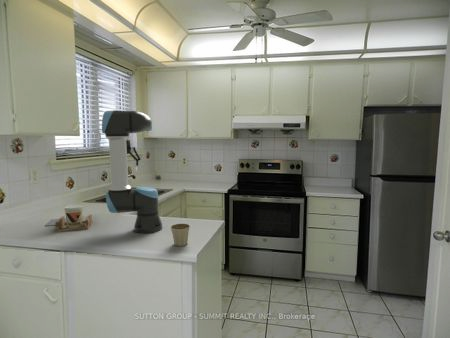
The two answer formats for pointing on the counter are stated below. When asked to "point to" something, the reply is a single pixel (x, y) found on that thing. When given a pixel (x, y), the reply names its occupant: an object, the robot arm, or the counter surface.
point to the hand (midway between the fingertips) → (125, 170)
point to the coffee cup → (74, 216)
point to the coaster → (53, 222)
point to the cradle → (61, 223)
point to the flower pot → (180, 234)
